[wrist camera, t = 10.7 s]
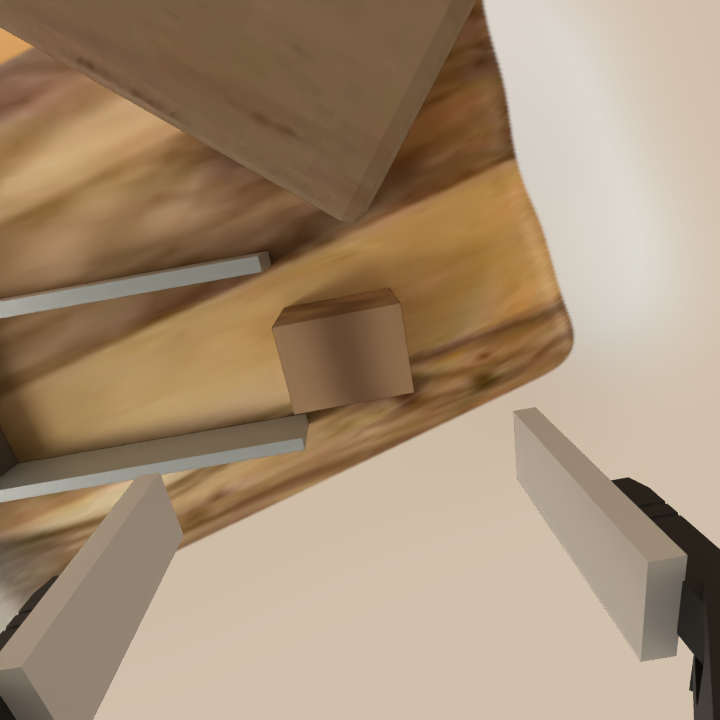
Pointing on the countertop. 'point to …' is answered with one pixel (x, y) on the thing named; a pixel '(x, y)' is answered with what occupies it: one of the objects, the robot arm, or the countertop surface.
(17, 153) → the countertop surface
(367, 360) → the walnut block
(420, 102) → the wooden block
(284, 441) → the grey u-shaped frame
